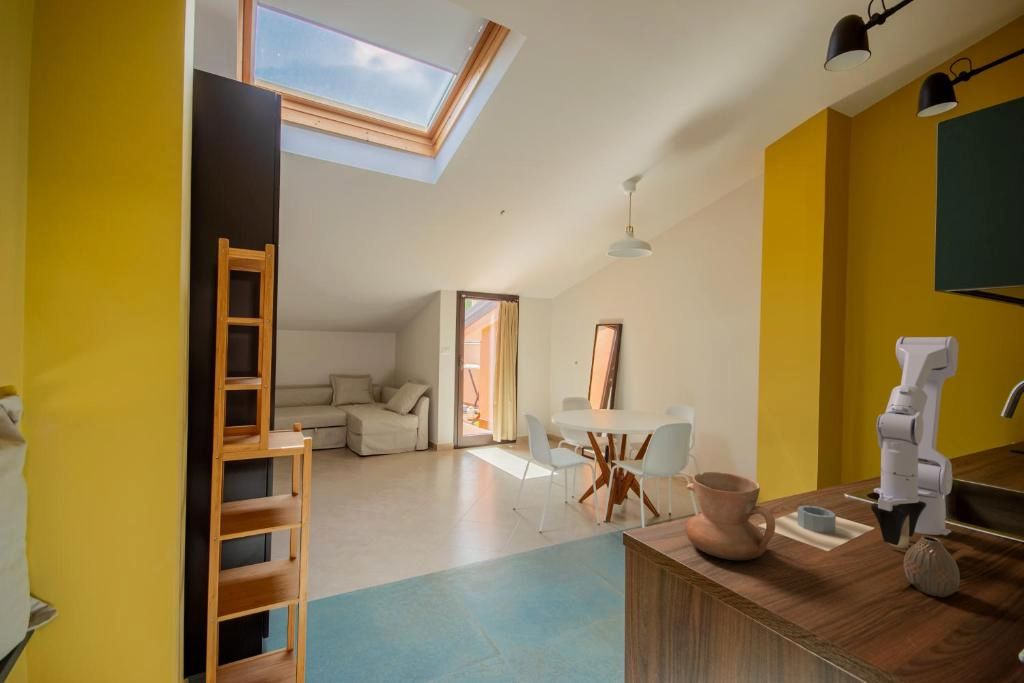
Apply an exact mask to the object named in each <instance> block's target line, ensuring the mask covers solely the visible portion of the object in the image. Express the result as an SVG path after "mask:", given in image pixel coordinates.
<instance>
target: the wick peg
mask: <svg viewBox="0 0 1024 683" xmlns="http://www.w3.org/2000/svg"><path fill="white" fill-rule="evenodd" d="M898 511H901V512H902V510H901V509H898ZM888 544H889V546H892V547H895V548H898V549H899V548H900V549H903V550H908V549H909V548H910V536H909V515H908V517H907V518H906V520H905V521H904V524H903V526H902V530H901V536H900V541H899V543H898V545H894V544H891V543H888Z"/></svg>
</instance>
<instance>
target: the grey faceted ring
mask: <svg viewBox="0 0 1024 683" xmlns="http://www.w3.org/2000/svg"><path fill="white" fill-rule="evenodd" d="M797 511H798V525H799V526H801V527H802V528H804V529H807V530H810V531H813V532H818V533H833V532H835V521H836V517H837V516H836V513H835V512H833V511H831V510H830V509H827V508H823V507H820V506H813V505H800V506H797Z"/></svg>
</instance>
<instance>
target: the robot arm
mask: <svg viewBox="0 0 1024 683" xmlns="http://www.w3.org/2000/svg"><path fill="white" fill-rule="evenodd" d="M895 356H896V359H897V361H898V364H899V367H900V369H901V370H902V375H901V381H900V385H898V386H895V387H894V388H893V389H892V390H891V393H890V396H889V399H888V403H887V406H886V408H885V412H884V413H883V414H882V413H881V414H879V415H878V417H877V421H876V435H877V438H878V447H879V448H880V452H881V453H880V487H876V488H874V489H873V492H874V493H876V494H879V498H878V500H877V503H876V502H874V503H872V504H870V509H871V512H872V513H873V514H874V516H875V517H876V519H877V522H878V526H879V529H880V532H881V536H882V539H883V541H884V542H885V543H888V544H889V543H891V544H894V545H898V543H899V541H900V536H901V530H902V526H903V524H904V521H905V520H906V518H907V517H908V515H909V538H910V537H911V538H912V537H913V536H914V534H915V533H917V534H923V535H927V536H928V535H931V536H934V535H935V536H939V535H943V536H947V535H949V534H950V533H952V530H951V529H950V528H949V529H948V528H946V501H945V499H944V498H943V496H948V494H950V493H951V492H952V488H953V487H952V486H953V472H952V470H953V468H952V467H953V465H952V463H951V460H950V459H949V458H948V457H947V456H945V455H944V454H942V453H941V452H940V451H938V450H937V449H936V448H937V439H938V430H939V420H940V419H939V418H940V409H941V408H940V407H941V400H942V389H943V386H944V384H945V380H946V379H949V378H952V377H955V376H956V371H957V370H958V360H959V358H958V357H959V344H958V341H957V339H956V338H955V337H954V336H942V337H941V336H938V337H937V336H936V337H935V336H933V337H932V336H926V337H925V336H923V337H922V336H919V337H917V336H916V337H915V336H914V337H912V336H911V337H910V336H909V337H907V336H901V337H899V338H898V339H897V340H896V344H895ZM898 509H901V510H902V512H901V511H898Z"/></svg>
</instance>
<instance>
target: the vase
mask: <svg viewBox="0 0 1024 683" xmlns="http://www.w3.org/2000/svg"><path fill="white" fill-rule="evenodd" d="M906 550H907V551H906V552H905V554H904V557H903V569H904V574H905V576H906V577H907V580H908V581H909V582H910V584H911V585H912V586H913V587H914V588H915V589H916V588H917V590H918V591H919V592H921V593H924V594H926V595H928V596H932V597H936V596H938V598H946V597H949V596H951V595H953V594H954V593H955V592H956V591H957V590H958V588H959V585H960V579H961V578H960V577H961V576H960V575H961V574H960V570H959V567H958V564H957V562H956V560H955V559H954V557H953V556H952V555H951V554H950V552H948V550H947V549H946V548H945V546H944V545H943V543H942V541H941V540H940V539H939V538H936V537H933V536H928V535H927V536H926V535H921V537H920V539H919V540H918V541H917V542H915V543H914V544H913V545H911V546H909V548H907V549H906Z"/></svg>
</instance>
